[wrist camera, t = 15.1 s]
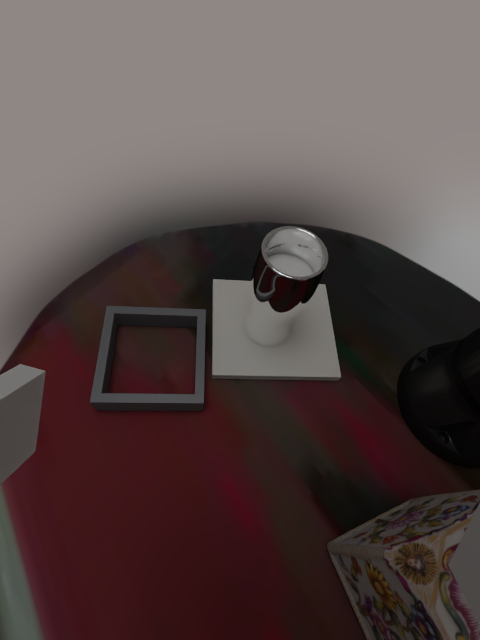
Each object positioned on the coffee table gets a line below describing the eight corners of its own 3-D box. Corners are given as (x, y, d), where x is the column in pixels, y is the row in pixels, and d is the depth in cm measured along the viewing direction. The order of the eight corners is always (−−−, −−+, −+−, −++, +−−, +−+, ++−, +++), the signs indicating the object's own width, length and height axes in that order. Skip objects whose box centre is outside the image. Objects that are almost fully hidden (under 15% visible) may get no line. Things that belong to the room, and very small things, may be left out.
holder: (204, 321, 49) (205, 309, 47) (202, 411, 43) (203, 403, 41) (111, 318, 48) (106, 305, 45) (96, 410, 42) (90, 402, 39)
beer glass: (229, 323, 48) (244, 246, 35) (266, 294, 51) (292, 214, 38) (268, 360, 46) (298, 294, 33) (303, 328, 49) (344, 255, 36)
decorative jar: (382, 685, 33) (551, 818, 18) (320, 544, 38) (411, 553, 23) (480, 617, 37) (694, 679, 21) (412, 496, 42) (545, 474, 26)
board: (322, 289, 54) (325, 284, 53) (337, 380, 47) (341, 377, 46) (212, 284, 52) (213, 279, 51) (211, 378, 46) (212, 375, 44)
